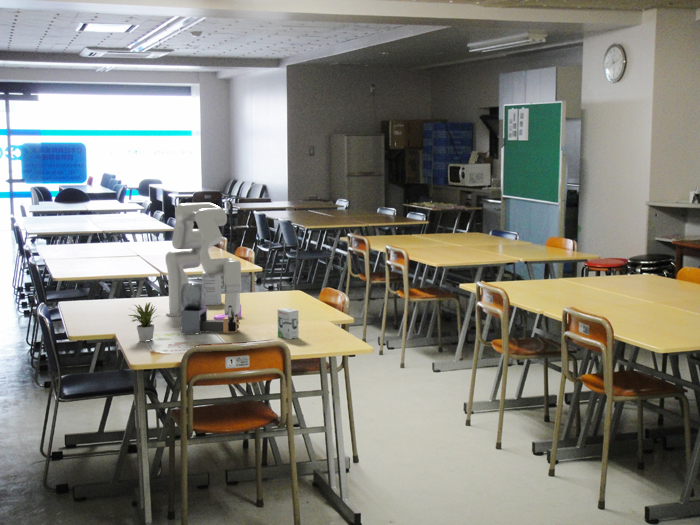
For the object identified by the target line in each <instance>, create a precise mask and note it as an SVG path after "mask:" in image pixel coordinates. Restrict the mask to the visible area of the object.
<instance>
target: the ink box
mask: <svg viewBox="0 0 700 525" xmlns="http://www.w3.org/2000/svg"><path fill="white" fill-rule="evenodd" d="M277 337H278V338H282V337H283V339H286V338H288V339H287V340H293V339H292V338H295V339H298V338H297V337H299V310H297V309H294V308H291V307H284V308H279V309H277Z"/></svg>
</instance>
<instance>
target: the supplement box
mask: <svg viewBox="0 0 700 525" xmlns="http://www.w3.org/2000/svg"><path fill="white" fill-rule="evenodd" d="M201 281H202V282H201V283H203V284H204V285H205V290H206V301H205V306H217V305H218V306H220V305H221V304H222V275H221V276H208V275H207V274H206V273H205V271H204V270H203V271H202V273H201Z"/></svg>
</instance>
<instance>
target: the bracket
mask: <svg viewBox="0 0 700 525" xmlns="http://www.w3.org/2000/svg"><path fill="white" fill-rule="evenodd" d="M238 316H239V318H241V317H242V304H240V312H239V313H238ZM225 317H228V315H225V313H223V314H221V313H220V314H217V315H213V320H223V319H224V318H225Z"/></svg>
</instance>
